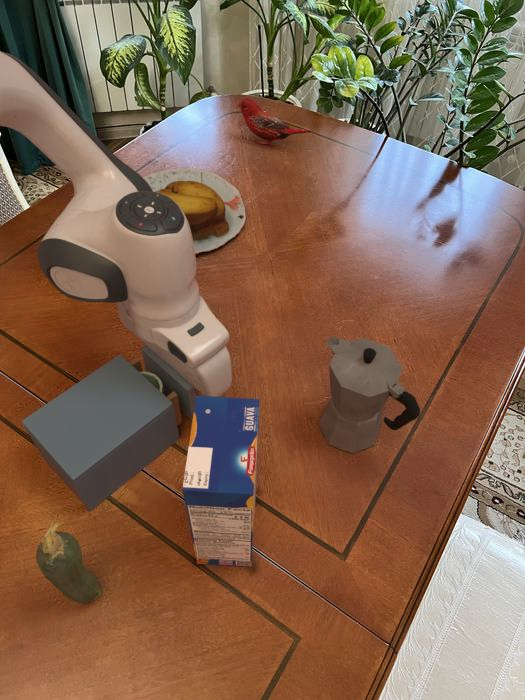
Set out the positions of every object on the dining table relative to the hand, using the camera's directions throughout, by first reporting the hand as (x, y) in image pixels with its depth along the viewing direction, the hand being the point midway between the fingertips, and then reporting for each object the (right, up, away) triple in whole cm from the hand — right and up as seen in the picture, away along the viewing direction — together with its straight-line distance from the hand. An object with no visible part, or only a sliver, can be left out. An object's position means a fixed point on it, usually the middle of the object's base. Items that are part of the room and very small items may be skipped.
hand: (176, 374), depth 84 cm
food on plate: (-3, +30, +31) cm, 43 cm away
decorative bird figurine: (+15, +50, +47) cm, 70 cm away
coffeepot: (+26, -9, +1) cm, 28 cm away
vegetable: (-9, -26, -14) cm, 31 cm away
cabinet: (-9, -10, -2) cm, 14 cm away
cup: (-4, -6, 0) cm, 7 cm away
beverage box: (+8, -20, -8) cm, 23 cm away
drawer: (-4, -6, +1) cm, 7 cm away
